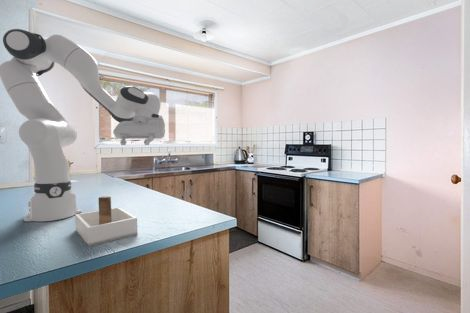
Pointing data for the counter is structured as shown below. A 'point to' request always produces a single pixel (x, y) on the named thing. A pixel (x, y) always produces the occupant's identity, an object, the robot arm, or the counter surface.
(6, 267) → the counter surface
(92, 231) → the bin
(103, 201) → the brown wooden block
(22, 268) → the counter surface
